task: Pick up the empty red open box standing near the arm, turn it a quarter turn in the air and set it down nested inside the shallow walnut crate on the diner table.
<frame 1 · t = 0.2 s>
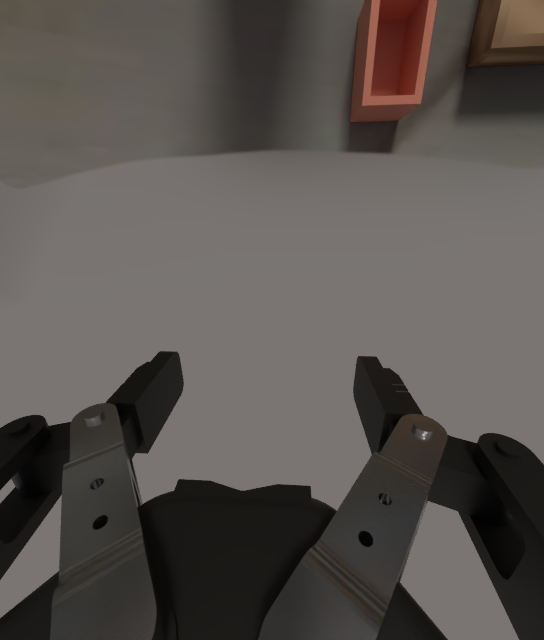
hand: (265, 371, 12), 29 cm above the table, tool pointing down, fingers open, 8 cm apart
red open box: (379, 72, 30), on the table
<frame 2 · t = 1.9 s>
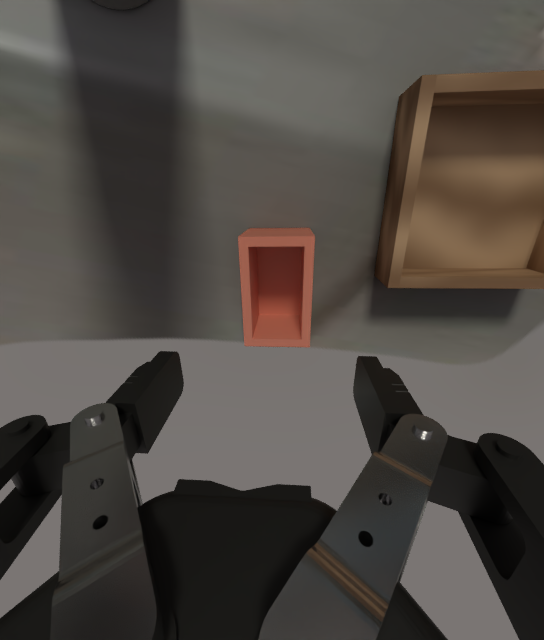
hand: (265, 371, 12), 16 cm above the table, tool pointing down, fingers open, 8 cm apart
red open box: (279, 276, 27), on the table
wooden crate: (469, 195, 23), on the table
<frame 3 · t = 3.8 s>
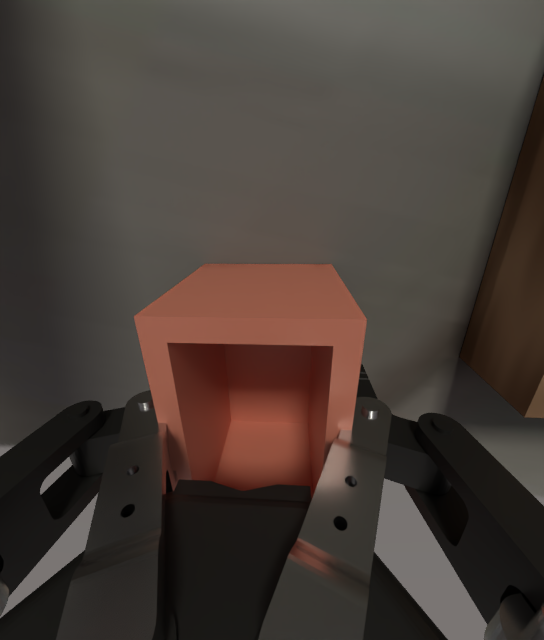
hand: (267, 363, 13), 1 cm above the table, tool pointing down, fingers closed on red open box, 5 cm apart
red open box: (268, 354, 14), on the table, touching gripper
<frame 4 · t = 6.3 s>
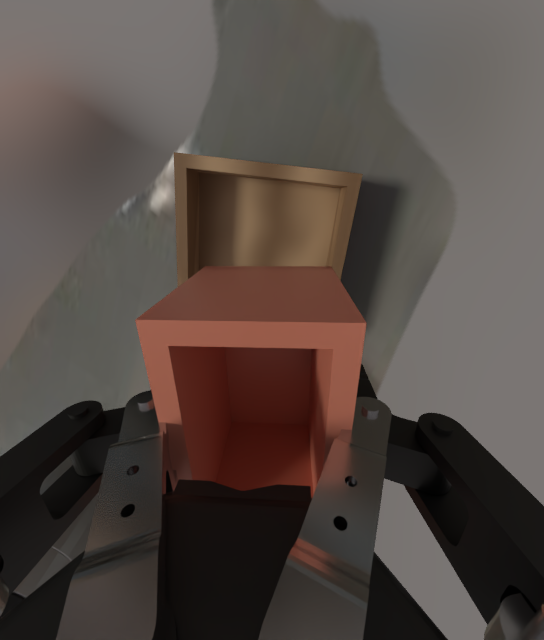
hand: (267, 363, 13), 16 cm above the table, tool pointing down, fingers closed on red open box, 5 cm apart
red open box: (269, 355, 14), point 15 cm above the table, touching gripper
wooden crate: (263, 250, 26), on the table
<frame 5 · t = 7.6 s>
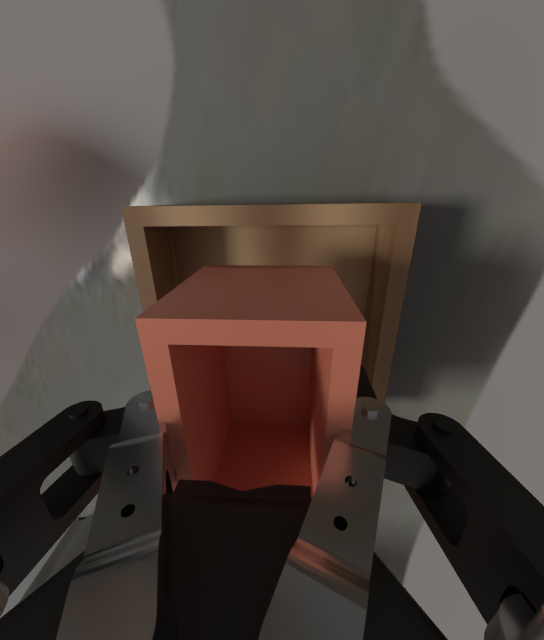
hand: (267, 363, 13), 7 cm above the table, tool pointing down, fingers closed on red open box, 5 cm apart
red open box: (268, 355, 14), point 6 cm above the table, touching gripper
wooden crate: (273, 312, 19), on the table
when the fingers open (3 cm above the table, at t = 8.8 s): red open box drops 1 cm, resting on wooden crate.
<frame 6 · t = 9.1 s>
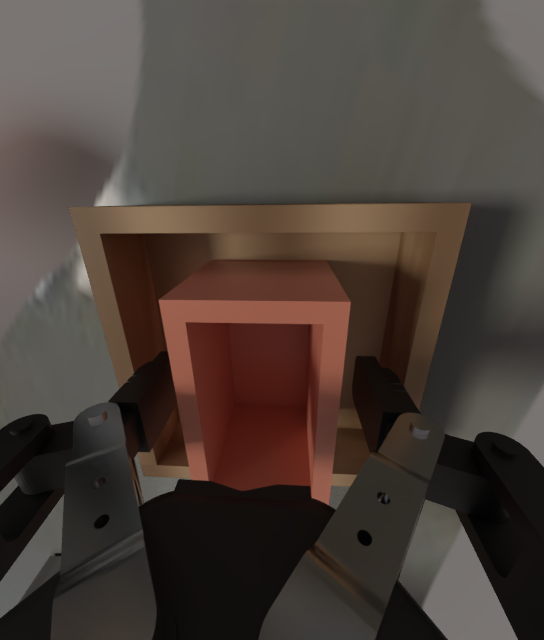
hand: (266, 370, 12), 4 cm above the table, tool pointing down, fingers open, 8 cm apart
red open box: (269, 342, 15), point 1 cm above the table, touching wooden crate
wooden crate: (271, 334, 16), on the table
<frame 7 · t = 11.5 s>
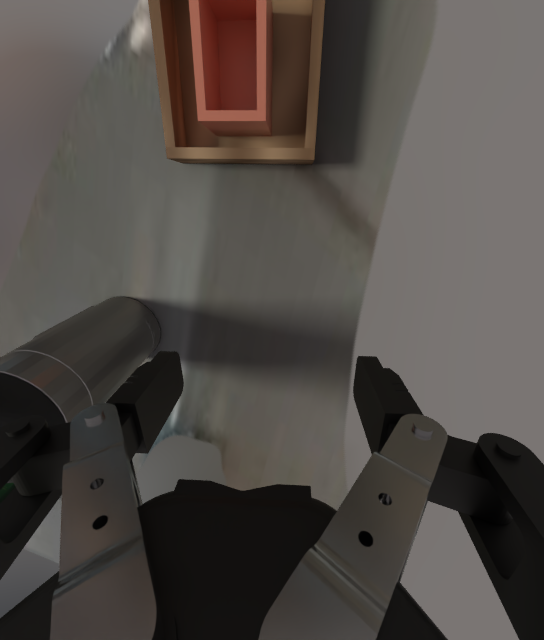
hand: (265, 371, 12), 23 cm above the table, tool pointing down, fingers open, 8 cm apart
red open box: (242, 79, 26), point 1 cm above the table, touching wooden crate
wooden crate: (244, 81, 26), on the table
coffee jar: (18, 472, 54), on the table
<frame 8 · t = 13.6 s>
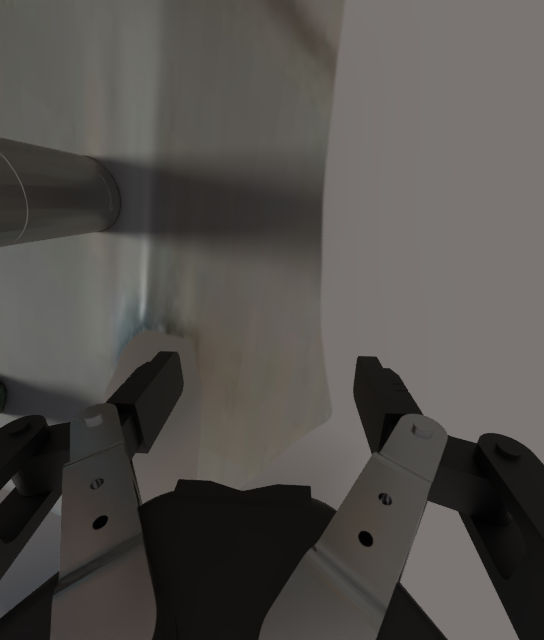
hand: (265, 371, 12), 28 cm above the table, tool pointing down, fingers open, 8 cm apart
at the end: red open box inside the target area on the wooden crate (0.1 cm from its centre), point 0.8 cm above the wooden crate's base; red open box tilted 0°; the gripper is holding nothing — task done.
